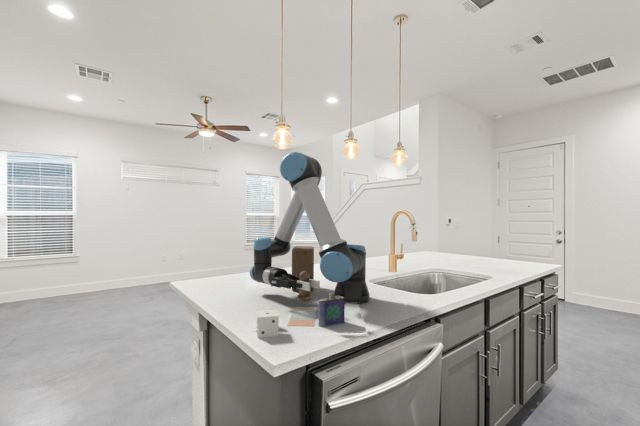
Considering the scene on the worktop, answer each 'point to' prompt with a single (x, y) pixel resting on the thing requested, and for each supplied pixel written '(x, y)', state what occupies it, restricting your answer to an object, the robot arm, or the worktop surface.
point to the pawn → (304, 294)
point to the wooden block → (303, 261)
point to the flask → (331, 310)
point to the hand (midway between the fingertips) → (314, 286)
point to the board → (302, 316)
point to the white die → (267, 323)
